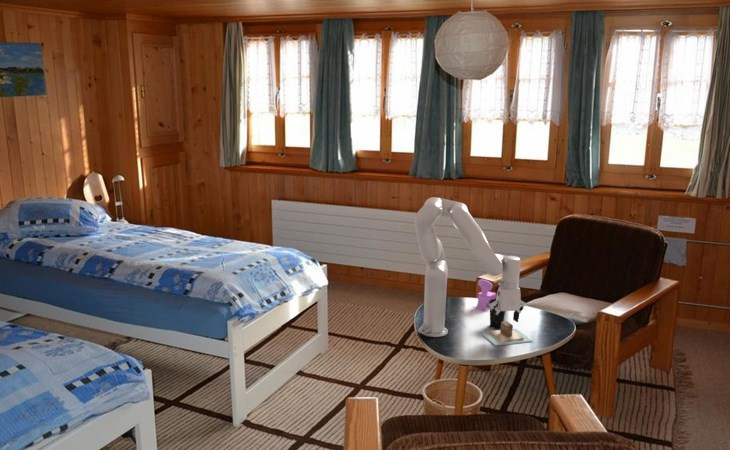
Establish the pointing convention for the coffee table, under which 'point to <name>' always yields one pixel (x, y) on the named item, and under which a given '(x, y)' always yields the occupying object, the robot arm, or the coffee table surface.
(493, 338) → the mat
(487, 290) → the toy chair
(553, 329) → the coffee table surface
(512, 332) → the lid
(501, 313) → the cup
